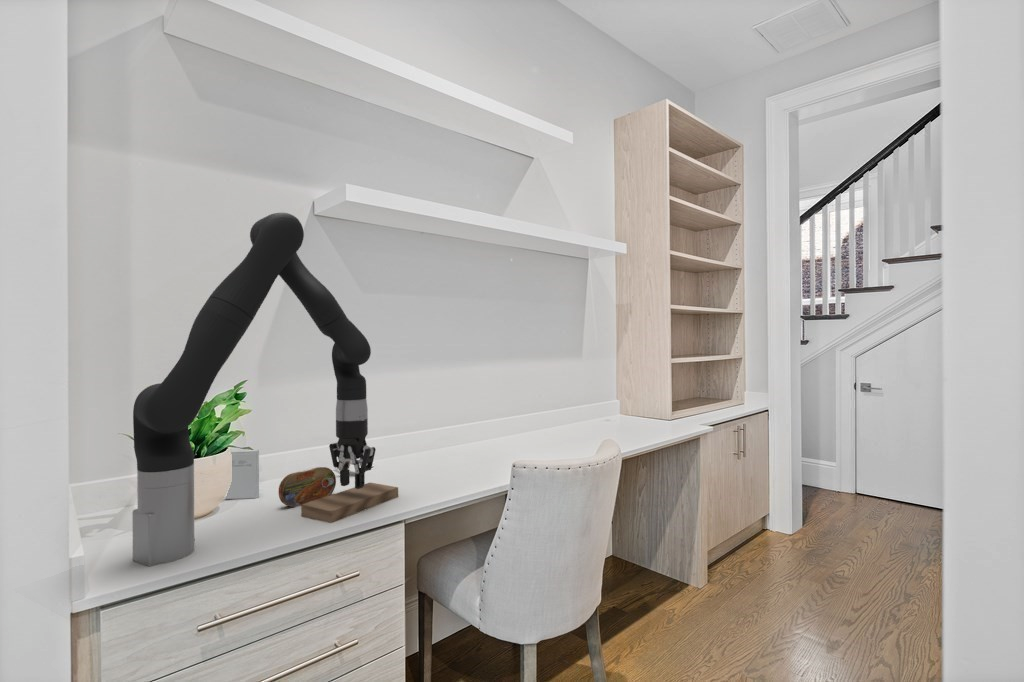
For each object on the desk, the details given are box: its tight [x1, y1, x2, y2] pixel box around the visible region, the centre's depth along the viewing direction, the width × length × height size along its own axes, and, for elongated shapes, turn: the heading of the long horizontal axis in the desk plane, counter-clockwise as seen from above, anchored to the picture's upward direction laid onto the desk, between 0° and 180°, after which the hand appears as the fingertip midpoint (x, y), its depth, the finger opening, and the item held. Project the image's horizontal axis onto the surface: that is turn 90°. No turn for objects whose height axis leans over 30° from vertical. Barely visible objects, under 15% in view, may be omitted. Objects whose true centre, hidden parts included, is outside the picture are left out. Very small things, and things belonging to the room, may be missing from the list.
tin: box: [278, 466, 337, 508], centre depth 135 cm, size 15×3×8 cm, turn 143°
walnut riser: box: [300, 482, 399, 524], centre depth 131 cm, size 22×10×3 cm, turn 150°
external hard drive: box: [225, 449, 260, 500], centre depth 139 cm, size 2×8×12 cm, turn 96°
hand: (352, 486), depth 131 cm, fingers open, 4 cm apart
